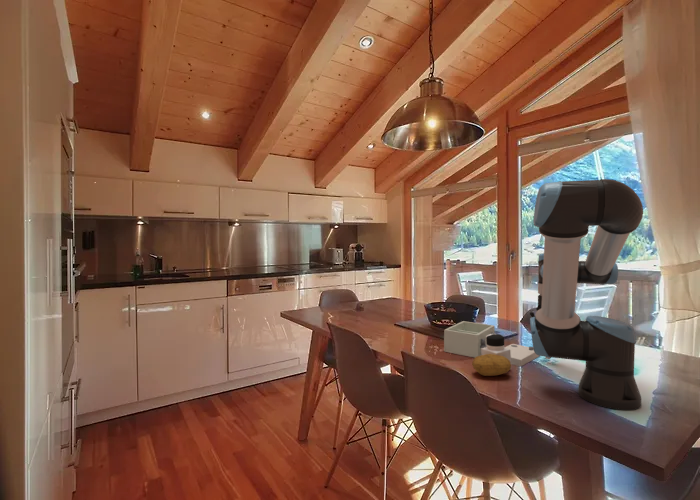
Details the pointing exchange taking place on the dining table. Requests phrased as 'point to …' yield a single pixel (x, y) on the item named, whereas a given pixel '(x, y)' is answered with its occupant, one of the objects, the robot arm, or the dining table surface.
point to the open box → (467, 338)
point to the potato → (491, 364)
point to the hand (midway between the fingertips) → (548, 357)
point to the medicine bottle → (496, 346)
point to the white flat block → (521, 354)
